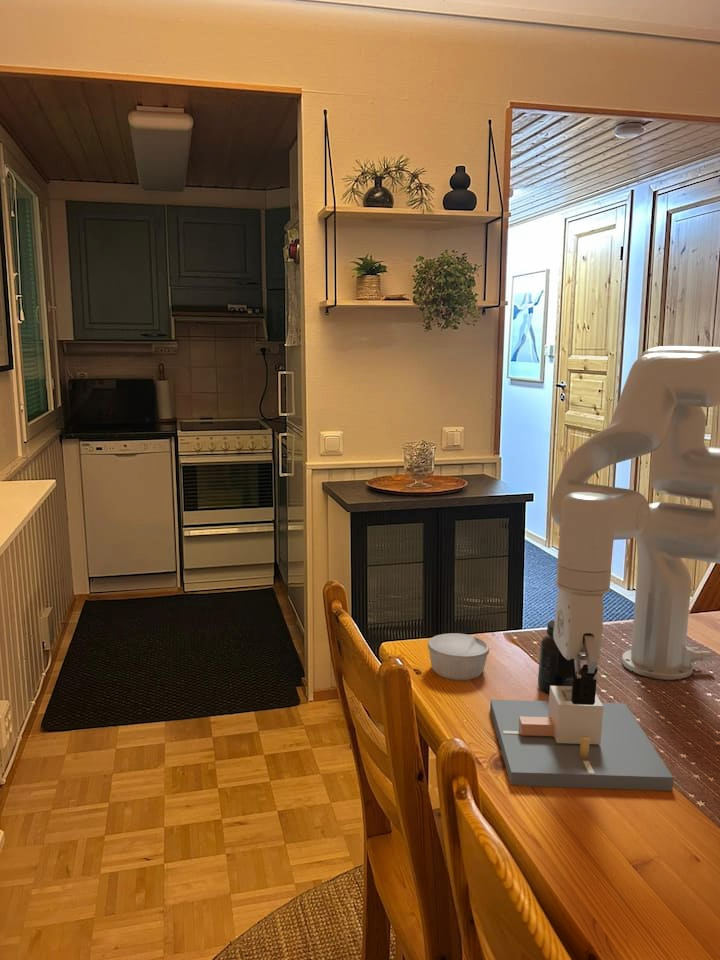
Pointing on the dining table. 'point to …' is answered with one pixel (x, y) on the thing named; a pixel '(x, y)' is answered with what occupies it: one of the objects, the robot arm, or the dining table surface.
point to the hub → (566, 719)
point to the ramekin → (458, 655)
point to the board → (579, 751)
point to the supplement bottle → (550, 663)
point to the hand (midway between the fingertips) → (574, 689)
